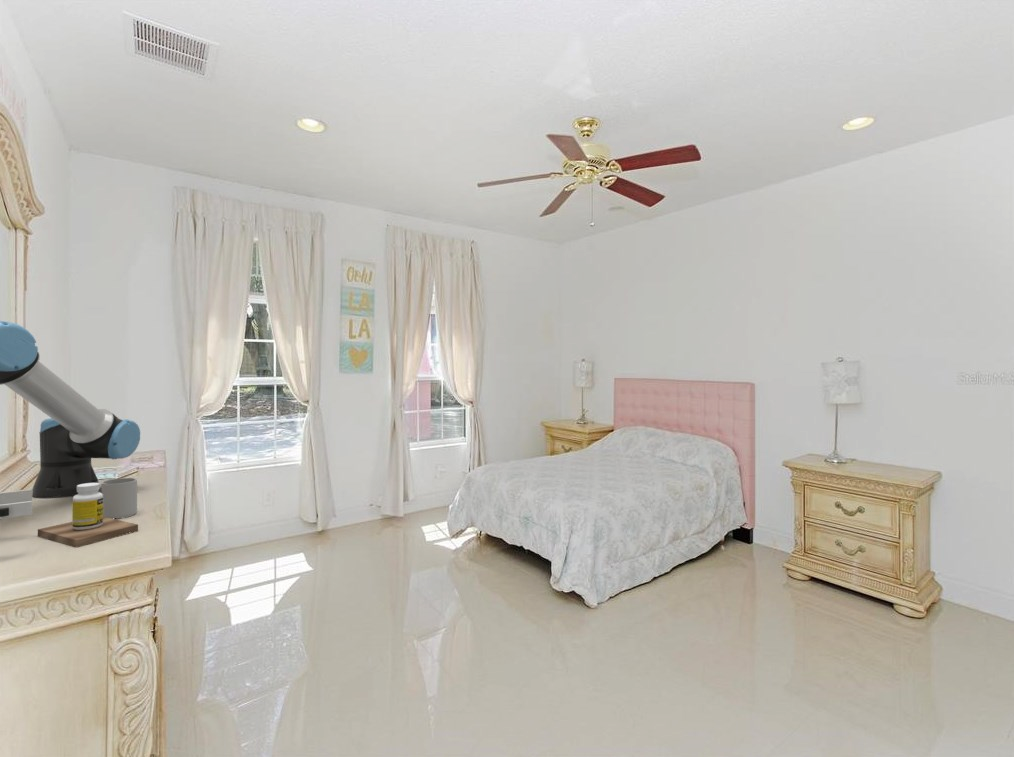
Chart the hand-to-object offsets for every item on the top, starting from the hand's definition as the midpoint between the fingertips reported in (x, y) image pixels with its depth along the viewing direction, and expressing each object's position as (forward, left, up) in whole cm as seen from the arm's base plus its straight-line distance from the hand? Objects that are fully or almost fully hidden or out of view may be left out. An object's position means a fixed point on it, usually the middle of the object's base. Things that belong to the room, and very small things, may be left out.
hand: (32, 501), depth 108 cm
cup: (-7, +21, -9) cm, 24 cm away
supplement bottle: (+3, +9, -8) cm, 12 cm away
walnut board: (+3, +9, -9) cm, 13 cm away
